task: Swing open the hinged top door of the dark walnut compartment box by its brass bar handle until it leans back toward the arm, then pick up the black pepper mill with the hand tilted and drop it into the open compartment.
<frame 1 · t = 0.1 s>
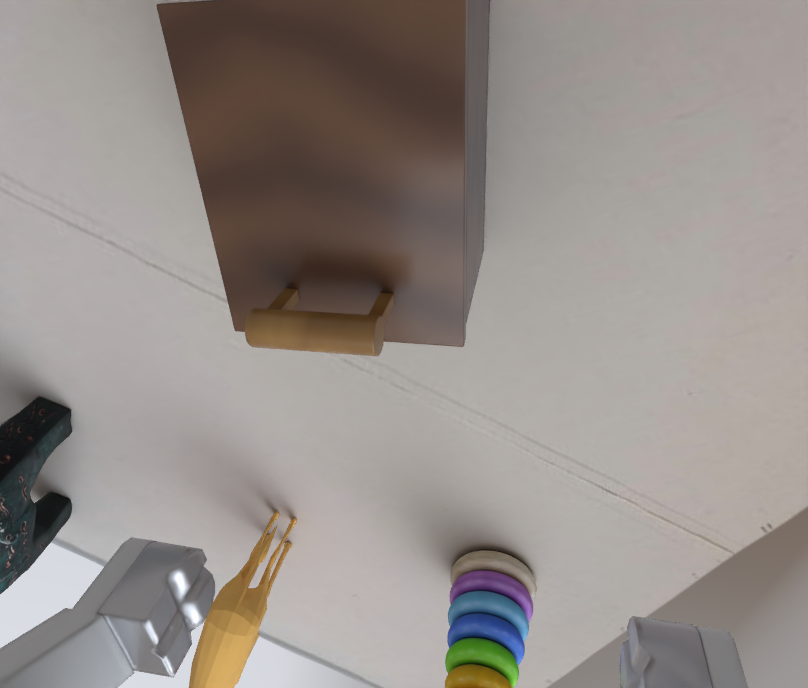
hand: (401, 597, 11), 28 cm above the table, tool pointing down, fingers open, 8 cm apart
ceramic cat: (62, 458, 58), on the table
chest: (382, 134, 34), on the table
stacking toy: (493, 572, 54), on the table
chest door: (312, 206, 24), point 12 cm above the table, hinge at 0.0°
giraffe: (279, 540, 58), on the table
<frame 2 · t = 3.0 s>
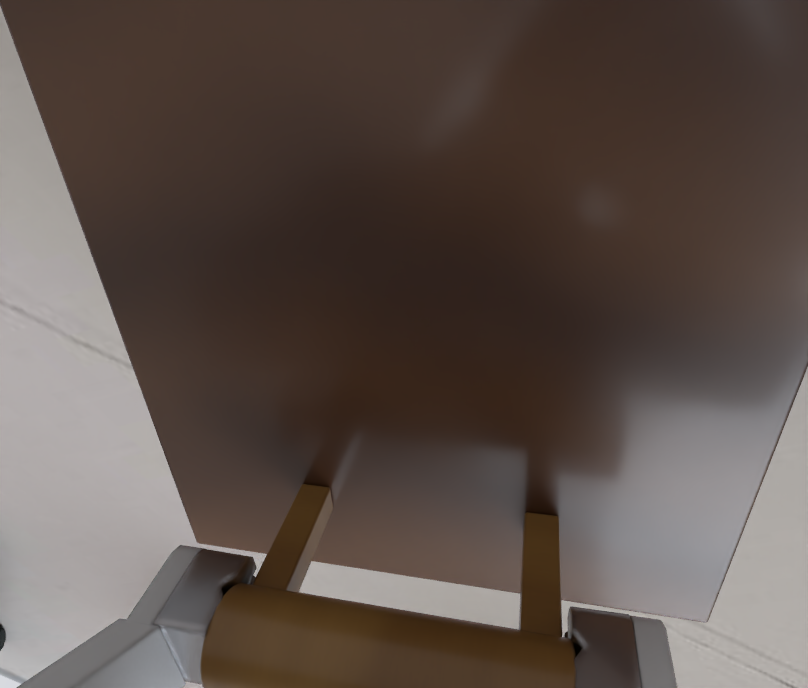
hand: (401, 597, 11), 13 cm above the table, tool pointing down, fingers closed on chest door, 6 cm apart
chest door: (391, 355, 8), point 12 cm above the table, hinge at 0.0°, touching gripper
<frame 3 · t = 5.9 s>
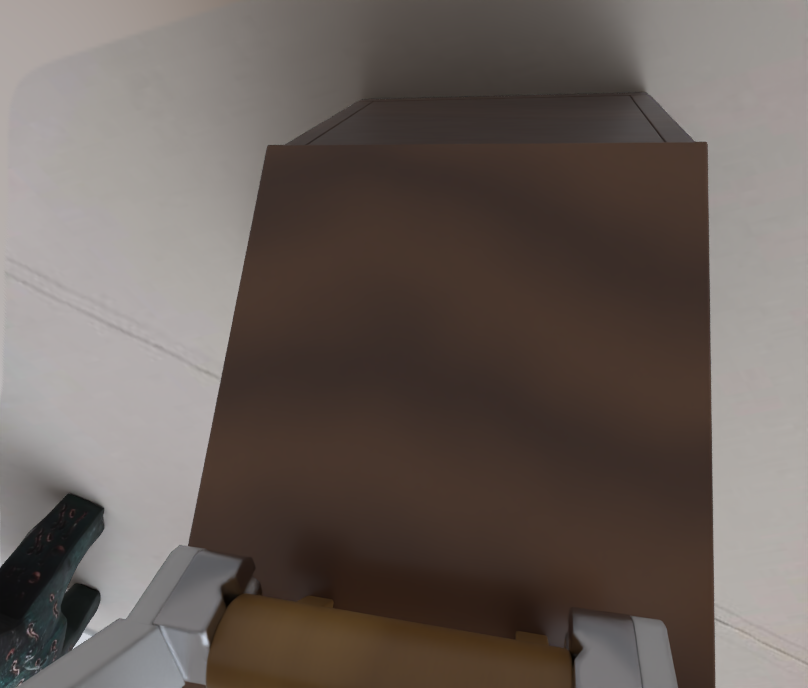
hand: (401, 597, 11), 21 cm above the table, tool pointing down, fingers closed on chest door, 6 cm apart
ceramic cat: (92, 551, 53), on the table
chest: (491, 249, 29), on the table
chest door: (433, 396, 13), point 17 cm above the table, hinge at 46.6°, touching gripper
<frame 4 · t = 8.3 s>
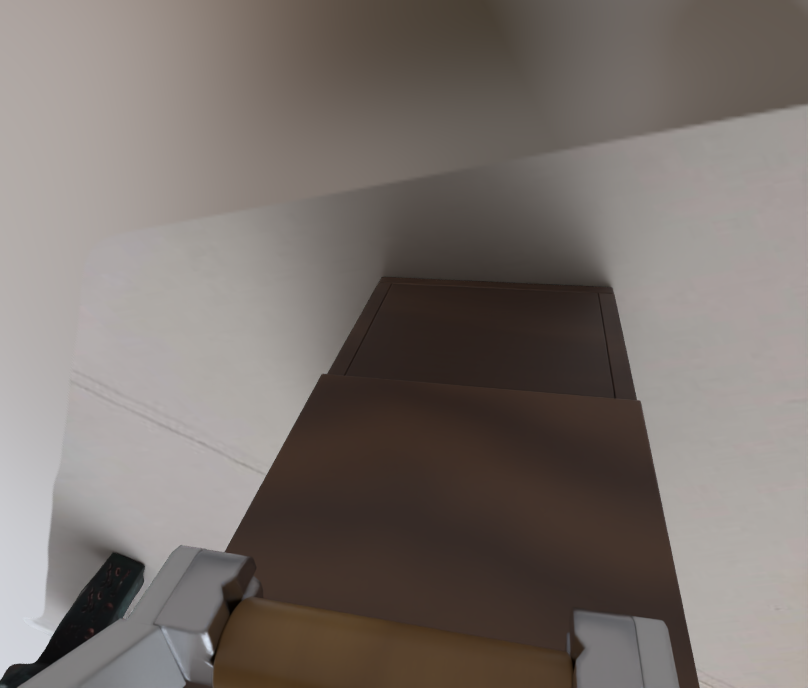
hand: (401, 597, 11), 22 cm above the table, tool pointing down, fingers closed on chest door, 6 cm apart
ceramic cat: (130, 599, 59), on the table
chest: (488, 387, 35), on the table
chest door: (440, 509, 15), point 18 cm above the table, hinge at 88.3°, touching gripper
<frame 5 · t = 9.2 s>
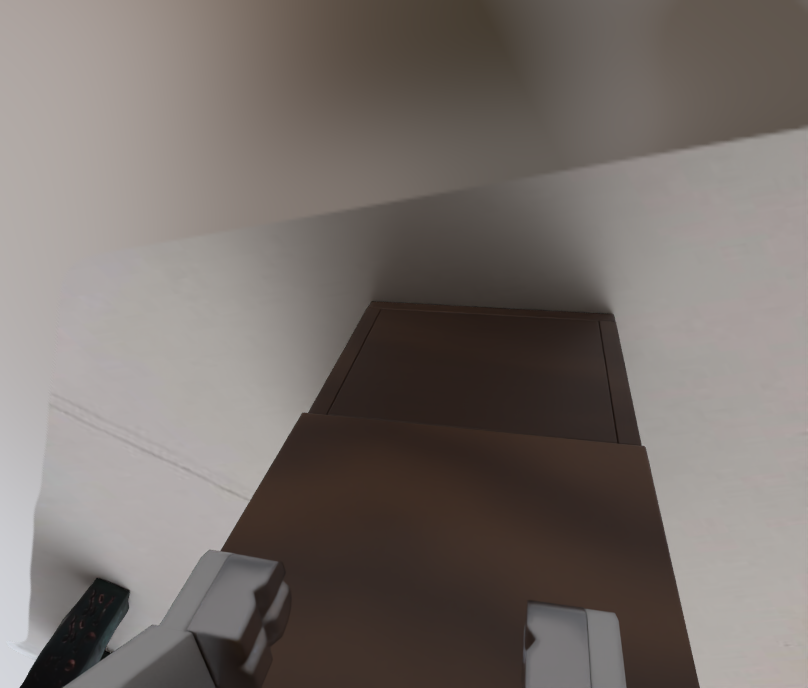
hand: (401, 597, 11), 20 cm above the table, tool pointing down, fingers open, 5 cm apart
ceramic cat: (116, 625, 58), on the table
chest: (483, 416, 33), on the table
chest door: (423, 574, 13), point 18 cm above the table, hinge at 91.0°
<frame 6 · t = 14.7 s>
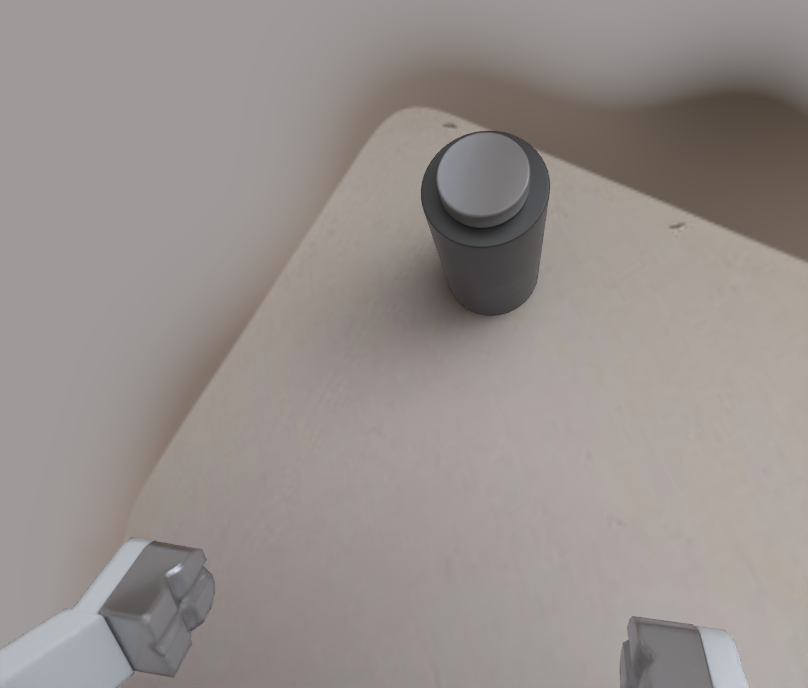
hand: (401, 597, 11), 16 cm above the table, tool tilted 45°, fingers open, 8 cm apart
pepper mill: (492, 272, 29), on the table
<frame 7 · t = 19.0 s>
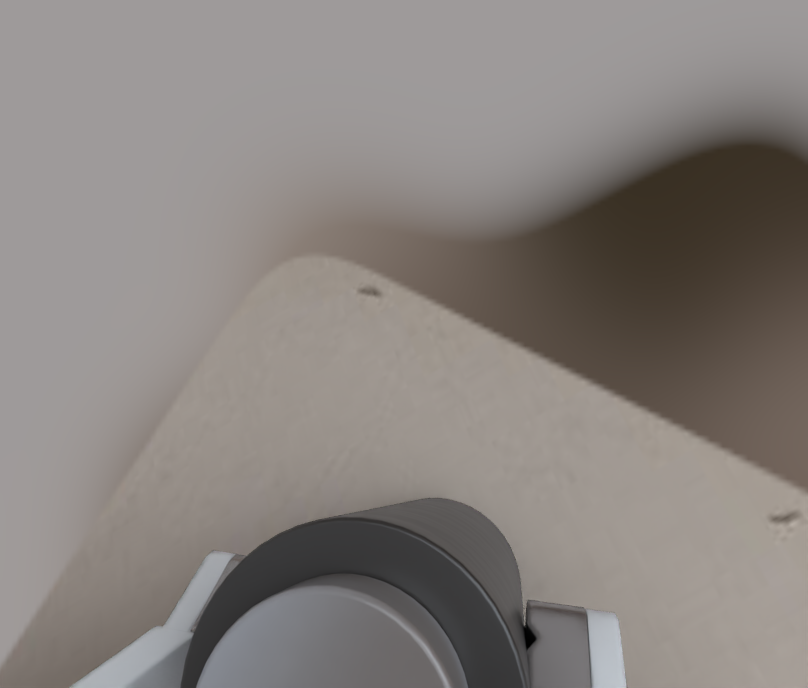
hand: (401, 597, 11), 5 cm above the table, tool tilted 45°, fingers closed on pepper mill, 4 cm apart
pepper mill: (436, 583, 16), on the table, touching gripper
when the fingers open (14 cm above the table, at t = 29.4 s): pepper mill drops 6 cm and tips over, resting on chest.
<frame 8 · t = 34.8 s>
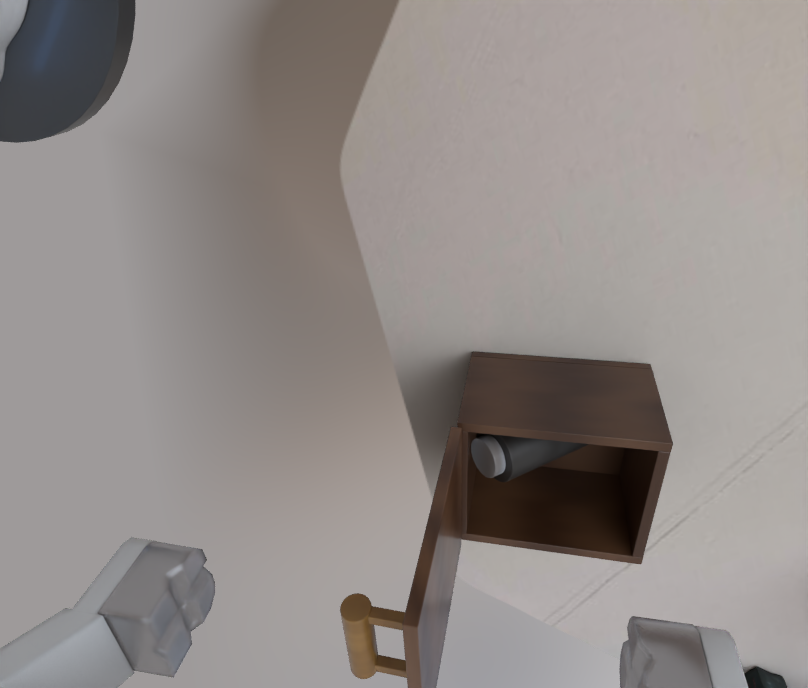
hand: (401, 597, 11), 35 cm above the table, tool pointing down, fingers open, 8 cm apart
chest: (552, 415, 51), on the table
chest door: (407, 568, 38), point 18 cm above the table, hinge at 91.0°
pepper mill: (579, 417, 47), point 3 cm above the table, tilted 49°, touching chest
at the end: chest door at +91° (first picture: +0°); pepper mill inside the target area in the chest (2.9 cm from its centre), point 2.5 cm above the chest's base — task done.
